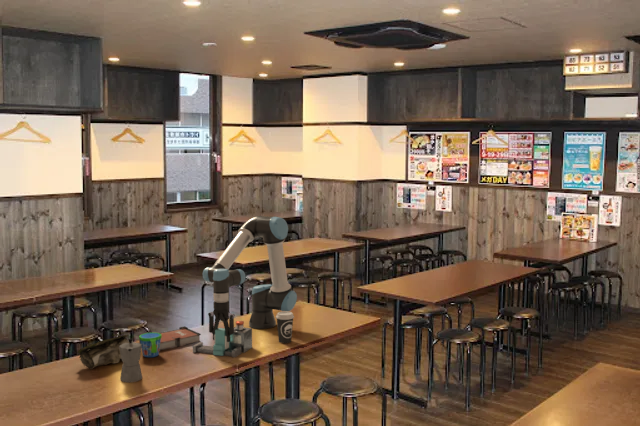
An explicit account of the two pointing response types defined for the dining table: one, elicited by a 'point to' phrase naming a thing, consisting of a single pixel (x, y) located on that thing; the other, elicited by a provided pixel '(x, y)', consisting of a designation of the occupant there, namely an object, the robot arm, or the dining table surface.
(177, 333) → the book
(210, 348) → the rail
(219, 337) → the carriage
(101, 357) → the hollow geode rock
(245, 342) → the end cabinet
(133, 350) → the coffeepot
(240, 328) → the gauge plunger
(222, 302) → the robot arm
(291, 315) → the coffee cup
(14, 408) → the dining table surface
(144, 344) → the snack cup
